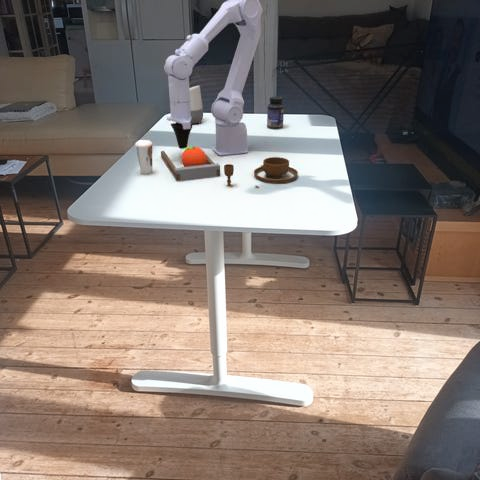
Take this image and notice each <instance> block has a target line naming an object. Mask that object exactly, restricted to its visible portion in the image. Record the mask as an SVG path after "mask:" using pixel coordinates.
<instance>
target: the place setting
mask: <svg viewBox="0 0 480 480" xmlns="http://www.w3.org/2000/svg"><path fill="white" fill-rule="evenodd" d="M262 162H263V163H262V165H260V166H259V167H257V168H255V169H254V170H253V175H254V178H256V179H257V180H258V181H260V182H262V183H267V184H268V183H269V184H288V183H290V182H293V181H295V180H296V179H297V178H298V175H299V173H298V172H299V171H298V170H297V169H295V168H293V167H290V160H289V159H287V158H284V157H279V156H272V157H267V158H265V159H263V161H262ZM234 169H235V168H234V164H232V163H226V164H224V167H223V173H224V176H226V177H227V180H226V183H227V185H226V187H232V184H231V183H232V181H231V179H232V178H231V177H232V176H233V175H234ZM263 172H264V173H265V174H266V175H267V176H268V178H267V177H263V176H260V175H258V174H260V173H263ZM287 173H289V174H290V175H293V176H291V177H288V178H283V176H285V175H287ZM254 186H255V187H254V188H256V189H260V187H259V186H258V185H254Z"/></svg>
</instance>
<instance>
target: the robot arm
mask: <svg viewBox="0 0 480 480" xmlns="http://www.w3.org/2000/svg"><path fill="white" fill-rule="evenodd" d="M263 11H264V10H263V7H262V5H261V3H260V0H226V1H224V2H223V3H222V4H221V5H220V8H219V9H218V11H216V13H215V14H214V15H213V17H212V18H211V19H209V21H208V23H207V24H206V25H205V26H204V27H203V29H202V30H201V31H200V32H199V33H193V34H188V35H187V36H186V38H185V39H186V41H185V42H184V43H183V44H182V45H181V46H180V47H179V48H176V49H175V51H174V54H171V55H170V56H167V58H166V59H165V63H164V65H163V70H164V72H165V74H166V75H167V79H168V81H167V82H168V92H169V93H168V94H169V95H168V96H169V106H170V107H169V108H170V110H169V111H170V116H167V117H166V120H167V121H168V122H169V121H172V122H174V123H170V126H171V128H172V130H173V133H174V135H175V137H176V138H175V139H176V141H177V145H178V148H179V150H182V149H183V150H185V149H184V148H186V147H188V143H189V137H190V134H191V131H192V129H193V125H191V123H190V122H191V119H192V116H191V110H190V91H189V88H190V76H191V75H192V72H193V67H194V66H195V65H196V64H197V63H198V62H199V61H200V60H201V59H202V57H203V56H204V55H205V54H206V53H207V52H208V51H209V44H210V42H211V41H212V40H213V39H214V38H216V36H217V35H218V34H219V33H220V32H221V31H222V30H224V28H225V27H227V26H228V25H229V24H234V25H235V27H236V28H237V30H238V32H239V35H240V37H239V40H238V43H237V47H236V50H235V53H234V56H233V59H232V63H231V65H230V68H229V72H228V75H227V78H226V82H225V85H224V88H223V89H222V90H221V91H220V92H219V93H218V94H217V98H216V99H215V100H214V102H213V103H212V104H211V109H210V110H211V115H212V117H213V118H215V119H214V121H215V122H214V123H215V147H212V148H211V149H212V150H213V151H214V152H215V153H216V155H218V156H222V157H223V156H230V155H240V154H241V155H242V154H248V153H249V152H248V129H247V125H246V123H245V122H244V121H243V122H242V120H243V116H244V104H245V101H244V98H243V96H242V93H243V91H244V87H245V86H246V85H245V84H246V81H247V78H248V75H249V72H250V69H251V66H252V62H253V60H254V57H255V54H256V50H257V47H258V44H259V41H260V37H261V33H262V31H261V30H262V29H261V27H262V26H261V16H262V14H263Z"/></svg>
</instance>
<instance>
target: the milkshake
mask: <svg viewBox="0 0 480 480" xmlns="http://www.w3.org/2000/svg"><path fill="white" fill-rule="evenodd" d="M134 145H135V151H136V155H137V159H138V160H137V161H138V165H139V171H140V174H141V175H151V174H152V173H153V169H154V168H153V142H152V141H151V140H150V134H149V133H148V134H147V139H139V140H137V141H136V142H135V144H134Z"/></svg>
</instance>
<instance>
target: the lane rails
mask: <svg viewBox="0 0 480 480" xmlns="http://www.w3.org/2000/svg"><path fill="white" fill-rule="evenodd" d="M160 158H161V160H162V161H163V162H164V164H165V165H166V167H167V168H168V170H169V171H170V173H171V174H172V176H173V178H174V179H175V176H176V175H175V168H177V167H176V166H175V164H174V163H173V161H172V160H171V158H170V157H169V156H168V155H167V153H166V152H165V150H161V151H160ZM206 159H207V161H206V165H208V164H216V163H215V162H214V161H213V160H212V159H211V158H210V157H209V156H208V154H206ZM218 170H219V171H218ZM218 172H219V173H218ZM219 174H220V175H219ZM179 175H180V174H177V178H176V179H175V181H176V180H177V181H176V182H181V181H180V180H181V177H180V176H179ZM217 177H221V168H220V169H217Z"/></svg>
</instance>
